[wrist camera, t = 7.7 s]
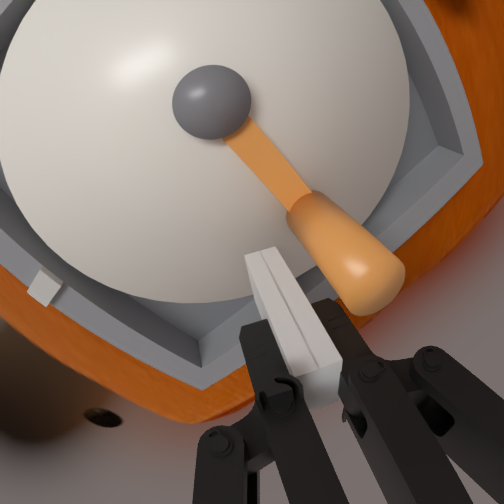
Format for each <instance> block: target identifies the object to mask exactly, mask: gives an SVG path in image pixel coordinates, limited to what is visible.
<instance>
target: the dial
mask: <svg viewBox="0 0 504 504" xmlns="http://www.w3.org/2000/svg"><path fill="white" fill-rule="evenodd" d="M409 109H410V93H409V78H408V71H407V65H406V59H405V56H404V52H403V49H402V45H401V42H400V39H399V36H398V34H397V31H396V29H395V27H394V25H393V22H392V20H391V18H390V16H389V14H388V12H387V11H386V9H385V7H384V6H383V4H382V2H381V1H380V0H36V1H35V2H34V3H33V5H32V6H31V8H30V9H29V11H28V12H27V13H26V15H25V16H24V18H23V20H22V22H21V23H20V25H19V27H18V29H17V31H16V33H15V35H14V37H13V39H12V41H11V44H10V46H9V49H8V51H7V54H6V57H5V60H4V64H3V67H2V70H1V74H0V162H1V165H2V169H3V172H4V175H5V179H6V182H7V184H8V186H9V189H10V191H11V193H12V195H13V197H14V199H15V201H16V204H17V206H18V207H19V209H20V210H21V212H22V213H23V215H24V217H25V218H26V220H27V221H28V223H29V224H30V226H31V227H32V228H33V229H34V231H35V232H36V233H37V234H38V235H39V236H40V238H41V239H42V240H43V241H44V242H45V243H46V244H47V246H48V247H50V248H51V249H52V250H53V251H54V252H55V253H56V254H58V255H59V256H60V257H61V258H62V259H63V260H64V261H66V262H67V263H68V264H70V265H71V266H73V267H74V268H76V269H77V270H79V271H80V272H82V273H83V274H85V275H86V276H88V277H90V278H92V279H94V280H96V281H98V282H100V283H102V284H104V285H106V286H108V287H110V288H113V289H116V290H119V291H122V292H125V293H127V294H130V295H133V296H138V297H142V298H147V299H151V300H156V301H164V302H174V303H210V302H218V301H226V300H232V299H237V298H241V297H245V296H250V295H253V291H252V287H251V283H250V279H249V274H248V270H247V266H246V262H245V257H244V255H247V254H250V253H254V252H257V251H261V250H264V249H268V248H271V247H275V246H276V248H277V250H278V251H279V253H280V255H281V256H282V258H283V260H284V261H285V263H286V265H287V266H288V268H289V269H290V271H291V273H292V274H293V276H294V278H296V277H298V276H300V275H301V274H303V273H305V272H306V271H308V270H310V269H311V268H313V267H315V266H316V265H317V266H318V267H319V269H320V270H321V271H322V273H323V274H324V276H325V277H326V278H327V280H328V281H329V283H330V284H331V285H332V287H333V288H334V290H335V291H336V293H337V294H338V295H339V297H340V298H341V300H342V301H343V303H344V304H345V305H346V307H347V308H348V310H349V311H350V312H351V313H352V314H354V315H357V316H367V315H371V314H373V313H376V312H378V311H380V310H381V309H383V308H384V307H386V306H387V305H388V304H389V303H390V302H391V301H392V300H393V299H394V298H395V297H396V296H397V294H398V293H399V291H400V289H401V287H402V285H403V283H404V279H405V267H404V265H403V263H402V262H401V261H400V260H399V259H398V258H397V257H396V256H395V255H394V254H393V253H392V252H391V251H390V250H388V249H387V248H386V247H385V246H384V245H383V244H382V243H381V242H380V241H379V240H377V239H376V238H375V237H374V236H373V235H372V234H371V233H370V232H369V231H367V230H366V229H365V228H364V227H363V226H362V224H363V223H364V222H365V221H366V219H367V218H368V217H369V216H370V214H371V213H372V211H373V210H374V209H375V207H376V206H377V204H378V203H379V201H380V200H381V198H382V196H383V195H384V193H385V191H386V189H387V187H388V185H389V183H390V181H391V179H392V177H393V175H394V173H395V170H396V167H397V165H398V162H399V159H400V157H401V154H402V150H403V146H404V142H405V138H406V133H407V127H408V119H409Z"/></svg>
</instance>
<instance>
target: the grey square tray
mask: <svg viewBox="0 0 504 504" xmlns="http://www.w3.org/2000/svg"><path fill="white" fill-rule="evenodd" d="M35 1H36V0H0V74H1V70H2V67H3V64H4V60H5V57H6V54H7V51H8V49H9V46H10V44H11V41H12V39H13V37H14V35H15V33H16V31H17V29H18V27H19V25H20V23H21V22H22V20H23V18H24V16H25V15H26V13H27V12H28V11H29V9H30V8H31V6H32V5H33V3H34V2H35ZM380 1H381V2H382V4H383V6H384V7H385V9H386V11H387V12H388V14H389V16H390V18H391V20H392V22H393V25H394V27H395V29H396V31H397V34H398V36H399V39H400V42H401V45H402V49H403V52H404V56H405V59H406V65H407V71H408V78H409V93H410V109H409V119H408V127H407V133H406V138H405V142H404V146H403V150H402V154H401V157H400V159H399V162H398V165H397V167H396V170H395V173H394V175H393V177H392V179H391V181H390V183H389V185H388V187H387V189H386V191H385V193H384V195H383V196H382V198H381V200H380V201H379V203H378V204H377V206H376V207H375V209H374V210H373V211H372V213H371V214H370V216H369V217H368V218H367V219H366V221H365V222H364V223H363V224H362V226H363V227H364V228H365V229H366V230H367V231H369V232H370V233H371V234H372V235H373V236H374V237H375V238H376V239H377V240H379V241H380V242H381V243H382V244H383V245H384V246H385V247H386V248H387V249H388V250H390V251H391V252H392V253H393V252H394V251H395V250H396V249H397V248H398V247H400V246H401V245H402V244H403V243H404V242H405V241H406V240H407V239H409V238H410V237H411V236H412V235H413V234H414V233H415V232H416V231H417V230H418V229H419V228H421V227H422V226H423V225H424V224H425V223H426V222H427V221H428V220H429V219H430V218H431V217H432V216H433V215H434V214H435V213H436V212H437V211H438V210H439V209H440V208H441V207H442V206H443V205H444V204H445V203H447V202H448V201H449V200H450V198H451V197H452V196H453V195H454V194H455V193H456V192H457V191H458V190H459V189H460V188H461V187H462V186H463V185H464V184H465V183H466V182H467V181H468V180H469V179H470V178H471V177H472V176H473V175H474V174H475V172H476V171H477V170H478V169H479V168H480V167H481V166H482V165H483V160H482V155H481V150H480V145H479V141H478V136H477V132H476V128H475V124H474V121H473V117H472V113H471V110H470V107H469V103H468V100H467V97H466V94H465V91H464V88H463V85H462V82H461V80H460V77H459V74H458V72H457V69H456V66H455V64H454V61H453V59H452V57H451V54H450V52H449V50H448V47H447V45H446V43H445V41H444V39H443V37H442V34H441V32H440V30H439V28H438V26H437V24H436V22H435V21H434V19H433V17H432V15H431V13H430V11H429V9H428V8H427V6H426V4H425V2H424V1H423V0H380ZM0 264H1V265H2V266H4V267H5V268H6V269H7V270H8V271H9V272H11V273H12V274H13V275H14V276H15V277H16V278H18V279H19V280H20V281H21V282H23V283H24V284H25V285H26V286H28V287H29V289H28V291H27V293H28V294H29V295H31V296H32V297H33V298H35V299H36V300H37V301H39V302H40V303H41V304H43V305H44V306H45V307H47V305H48V304H49V303H50V304H51V305H52V306H54V307H55V308H57V309H58V310H59V311H61V312H62V313H64V314H65V315H67V316H68V317H70V318H71V319H72V320H74V321H75V322H77V323H78V324H80V325H81V326H83V327H85V328H86V329H88V330H89V331H91V332H92V333H94V334H96V335H97V336H99V337H100V338H102V339H104V340H105V341H107V342H109V343H110V344H112V345H114V346H115V347H117V348H119V349H121V350H122V351H124V352H126V353H128V354H129V355H131V356H133V357H135V358H137V359H139V360H140V361H142V362H144V363H146V364H148V365H150V366H152V367H154V368H156V369H158V370H160V371H162V372H164V373H166V374H168V375H170V376H172V377H174V378H176V379H178V380H180V381H182V382H185V383H187V384H189V385H191V386H193V387H196V388H198V389H200V390H204V389H206V388H207V387H209V386H211V385H212V384H214V383H216V382H217V381H219V380H221V379H222V378H224V377H225V376H227V375H229V374H230V373H232V372H233V371H235V370H236V369H238V368H240V367H241V366H243V365H244V364H246V362H245V358H244V355H243V351H242V347H241V344H240V340H239V334H240V330H241V326H244V325H247V324H251V323H254V322H257V321H261V320H262V319H261V316H260V313H259V311H258V308H257V305H256V303H255V300H254V295H250V296H245V297H241V298H237V299H232V300H226V301H218V302H210V303H174V302H164V301H156V300H151V299H147V298H142V297H138V296H133V295H130V294H127V293H125V292H122V291H119V290H116V289H113V288H110V287H108V286H106V285H104V284H102V283H100V282H98V281H96V280H94V279H92V278H90V277H88V276H86V275H85V274H83V273H82V272H80V271H79V270H77V269H76V268H74V267H73V266H71V265H70V264H68V263H67V262H66V261H64V260H63V259H62V258H61V257H60V256H59V255H58V254H56V253H55V252H54V251H53V250H52V249H51V248H50V247H48V246H47V244H46V243H45V242H44V241H43V240H42V239H41V238H40V236H39V235H38V234H37V233H36V232H35V231H34V229H33V228H32V227H31V226H30V224H29V223H28V221H27V220H26V218H25V217H24V215H23V213H22V212H21V210H20V209H19V207H18V206H17V204H16V201H15V199H14V197H13V195H12V193H11V191H10V189H9V186H8V184H7V182H6V179H5V175H4V172H3V169H2V165H1V162H0ZM295 279H296V281H297V283H298V284H299V286H300V288H301V289H302V291H303V293H304V294H305V296H306V298H307V299H308V301H309V303H310V304H312V303H315V302H317V301H320V300H323V299H326V298H330V299H331V300H333V301H334V300H336V299H337V298H338V297H339V295H338V294H337V293H336V291H335V290H334V288H333V287H332V285H331V284H330V283H329V281H328V280H327V278H326V277H325V276H324V274H323V273H322V271H321V270H320V269H319V267H318V266H317V265H316V266H315V267H313V268H311V269H310V270H308V271H306V272H305V273H303V274H301V275H300V276H298V277H296V278H295Z"/></svg>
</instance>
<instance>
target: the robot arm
mask: <svg viewBox="0 0 504 504" xmlns="http://www.w3.org/2000/svg"><path fill="white" fill-rule="evenodd" d="M244 257H245V262H246V266H247V270H248V274H249V279H250V283H251V287H252V291H253V295H254V300H255V303H256V305H257V308H258V311H259V313H260V316H261V319H262V320H261V321H257V322H254V323H251V324H247V325H244V326H241V330H240V334H239V340H240V344H241V347H242V351H243V355H244V358H245V362H246V365H247V369H248V372H249V375H250V379H251V382H252V386H253V389H254V392H255V404H254V406H253V409H252V410H251V412H250V413H249V414H248V415H247V416H245V417H244V418H243V419H241V420H240V421H238V422H236V423H235V424H233V425H231V426H223V425H221V426H216V427H212V428H210V429H209V430H207V431H206V432H205V433H204V434H203V435H202V436H201V437H200V440H199V443H198V449H197V458H196V469H195V480H194V491H193V502H192V503H193V504H260V469H262V468H263V467H265V466H267V465H268V464H270V463H272V462H273V461H275V462H276V465H277V468H278V471H279V474H280V476H281V480H282V483H283V486H284V489H285V491H286V494H287V497H288V500H289V503H290V504H349V502H348V500H347V497H346V495H345V493H344V491H343V488H342V486H341V484H340V481H339V479H338V477H337V475H336V472H335V470H334V468H333V465H332V463H331V461H330V458H329V456H328V454H327V452H326V449H325V447H324V444H323V442H322V440H321V437H320V435H319V433H318V430H317V428H316V426H315V423H314V421H313V419H312V416H311V414H310V412H311V411H314V410H317V409H320V408H322V407H325V406H327V405H330V404H333V403H335V402H337V401H338V397H340V399H341V401H342V403H343V405H344V408H343V413H342V421H343V422H346V419H347V420H348V423H349V425H350V427H351V429H352V431H353V433H354V435H355V437H356V439H357V441H358V443H359V445H360V447H361V449H362V451H363V453H364V455H365V457H366V460H367V462H368V464H369V465H370V468H371V470H372V472H373V474H374V476H375V478H376V480H377V482H378V484H379V486H380V488H381V490H382V492H383V494H384V496H385V499H386V501H387V503H388V504H473V502H472V500H471V499H470V497H469V495H468V493H467V491H466V489H465V487H464V485H463V484H462V482H461V480H460V478H459V477H458V475H457V473H456V471H455V470H454V468H453V466H452V464H451V463H450V461H449V459H448V458H447V456H446V455H448V456H449V457H450V458H451V459H452V460H453V461H454V462H455V463H456V464H457V465H458V466H459V467H460V468H461V469H462V470H463V471H464V472H465V473H467V474H468V475H469V476H470V477H471V478H472V479H473V480H474V481H475V482H476V483H477V484H478V485H479V486H480V487H481V488H482V489H484V490H485V491H486V492H487V493H488V494H489V495H490V496H491V497H492V498H493V499H494V500H495V501H496V502H497V503H499V504H504V400H503V399H502V398H501V397H500V396H499V395H497V394H496V393H495V392H494V391H493V390H492V389H490V388H489V387H488V386H487V385H486V384H484V383H483V382H482V381H481V380H480V379H478V378H477V377H476V376H475V375H473V374H472V373H471V372H470V371H469V370H467V369H466V368H465V367H464V366H462V365H461V364H460V363H459V362H457V361H456V360H455V359H454V358H452V357H451V356H450V355H449V354H447V353H446V352H445V351H444V350H442V349H440V348H438V347H435V346H426V347H423V348H421V349H419V350H418V351H417V352H416V354H415V355H414V357H413V358H407V359H401V360H392V361H389V360H384V359H382V358H380V357H378V356H376V355H375V354H373V353H372V351H371V350H370V349H369V347H368V346H367V344H366V343H365V341H364V340H363V338H362V337H361V335H360V334H359V332H358V331H357V329H356V328H355V327H354V325H353V324H352V323H351V321H350V319H349V318H348V316H346V313H345V312H344V311H343V309H342V308H341V306H340V305H339V304H338V303H336V302H335V301H333V300H331V299H330V298H326V299H323V300H320V301H317V302H315V303H312V304H310V303H309V301H308V299H307V298H306V296H305V294H304V293H303V291H302V289H301V288H300V286H299V284H298V283H297V281H296V279H295V278H294V276H293V274H292V273H291V271H290V269H289V268H288V266H287V265H286V263H285V261H284V260H283V258H282V256H281V255H280V253H279V251H278V250H277V248H276V246H275V247H271V248H268V249H264V250H261V251H257V252H254V253H250V254H247V255H244Z"/></svg>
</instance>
